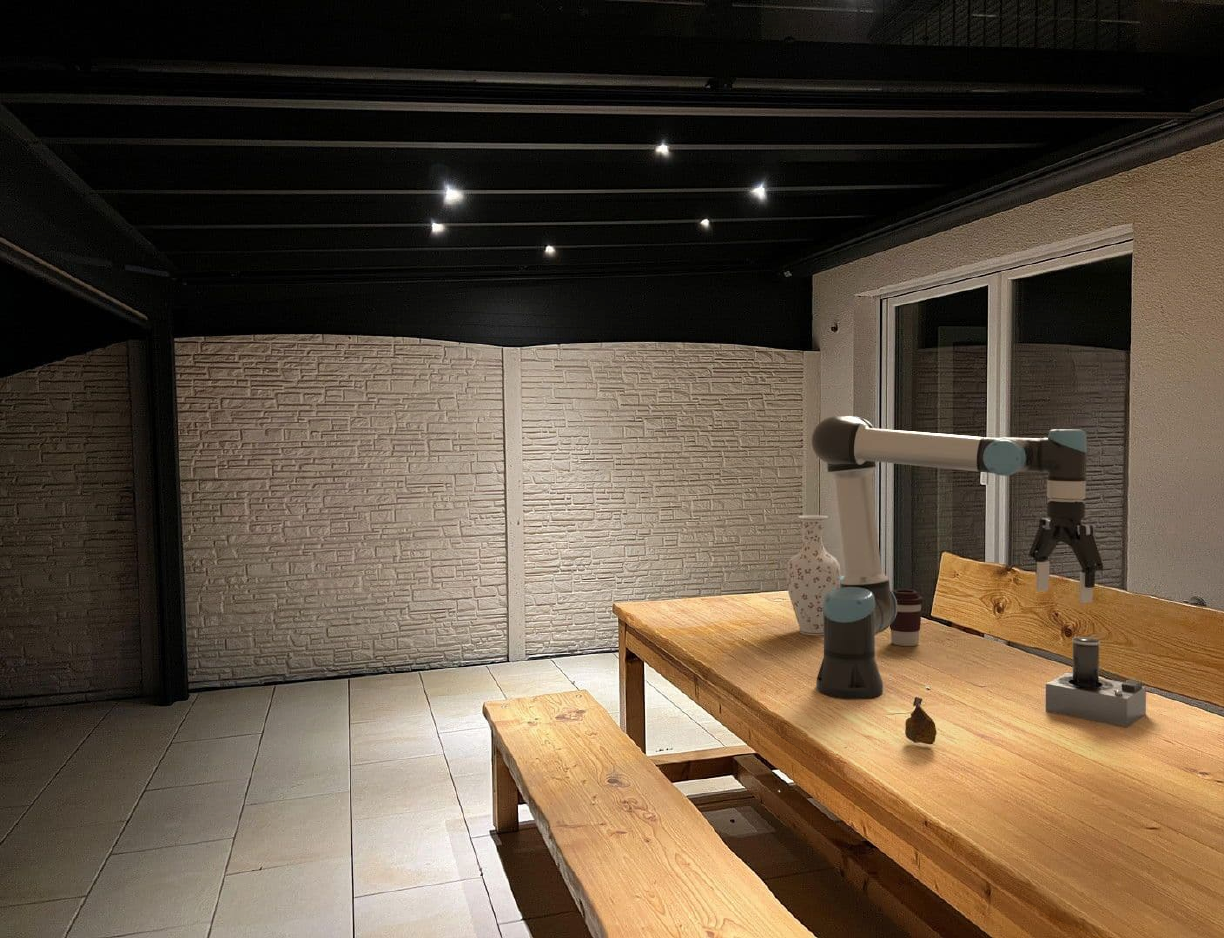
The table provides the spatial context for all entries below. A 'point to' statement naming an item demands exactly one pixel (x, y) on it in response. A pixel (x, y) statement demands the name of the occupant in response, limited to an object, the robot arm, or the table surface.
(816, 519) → the vase
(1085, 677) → the lens
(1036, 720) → the table surface
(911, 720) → the chicken drumstick
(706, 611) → the table surface
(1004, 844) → the table surface
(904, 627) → the coffee cup
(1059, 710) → the grey block with hole
